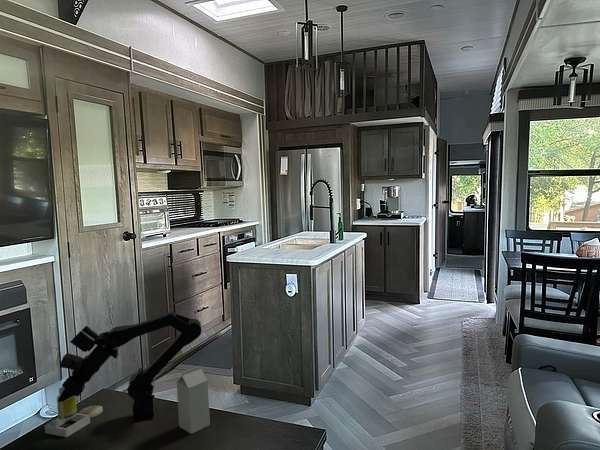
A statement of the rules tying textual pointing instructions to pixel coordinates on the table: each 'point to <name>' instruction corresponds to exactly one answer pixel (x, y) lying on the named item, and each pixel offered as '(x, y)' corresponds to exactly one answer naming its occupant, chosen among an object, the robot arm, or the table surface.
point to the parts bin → (65, 432)
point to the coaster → (92, 411)
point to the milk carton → (193, 400)
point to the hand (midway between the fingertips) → (61, 397)
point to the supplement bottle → (66, 407)
